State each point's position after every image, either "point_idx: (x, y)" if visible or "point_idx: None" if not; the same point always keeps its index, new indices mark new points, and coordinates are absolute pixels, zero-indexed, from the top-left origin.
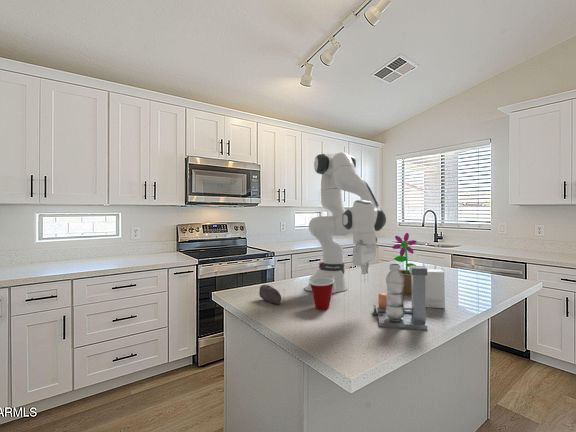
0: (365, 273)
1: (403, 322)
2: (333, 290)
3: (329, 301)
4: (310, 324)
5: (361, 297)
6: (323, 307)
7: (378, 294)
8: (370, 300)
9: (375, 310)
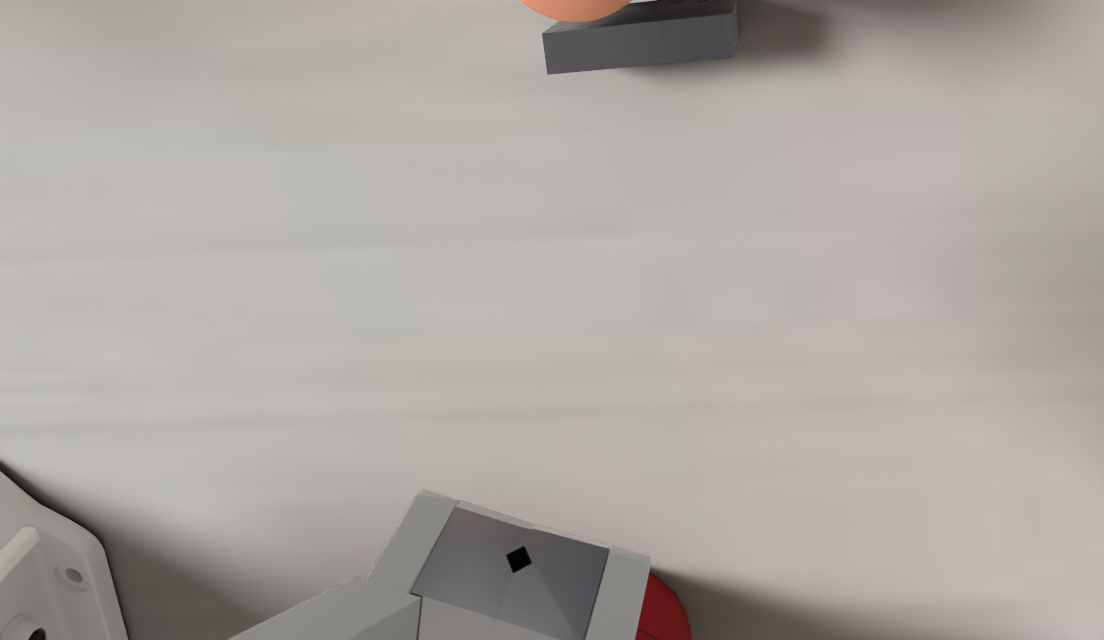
0: (646, 571)
1: None
2: (54, 548)
3: None
4: None
5: (56, 242)
6: (685, 625)
7: (596, 18)
8: (110, 123)
9: (731, 26)
